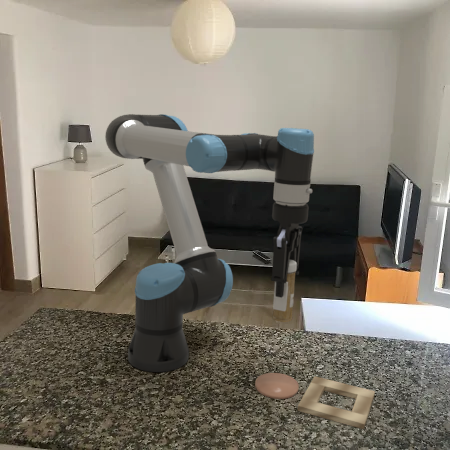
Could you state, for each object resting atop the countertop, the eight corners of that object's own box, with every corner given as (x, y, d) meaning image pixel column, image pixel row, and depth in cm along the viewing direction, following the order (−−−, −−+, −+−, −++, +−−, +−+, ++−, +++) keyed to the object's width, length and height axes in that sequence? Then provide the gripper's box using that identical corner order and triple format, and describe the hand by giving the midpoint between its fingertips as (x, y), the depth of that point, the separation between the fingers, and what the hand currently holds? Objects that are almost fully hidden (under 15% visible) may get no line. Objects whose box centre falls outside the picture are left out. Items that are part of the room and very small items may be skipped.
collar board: (297, 410, 112) (297, 405, 112) (314, 380, 124) (314, 376, 124) (363, 429, 106) (364, 424, 106) (374, 396, 119) (374, 391, 119)
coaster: (248, 391, 118) (248, 388, 118) (263, 372, 127) (263, 369, 127) (291, 403, 114) (291, 400, 114) (303, 382, 123) (303, 379, 123)
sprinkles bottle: (296, 320, 116) (301, 262, 113) (280, 324, 114) (285, 265, 111) (283, 313, 120) (287, 257, 117) (267, 317, 117) (271, 259, 114)
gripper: (296, 211, 102) (287, 323, 107) (318, 198, 117) (309, 296, 122) (260, 206, 104) (253, 315, 110) (286, 194, 120) (279, 290, 125)
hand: (283, 305), depth 116 cm, fingers closed on sprinkles bottle, 4 cm apart
